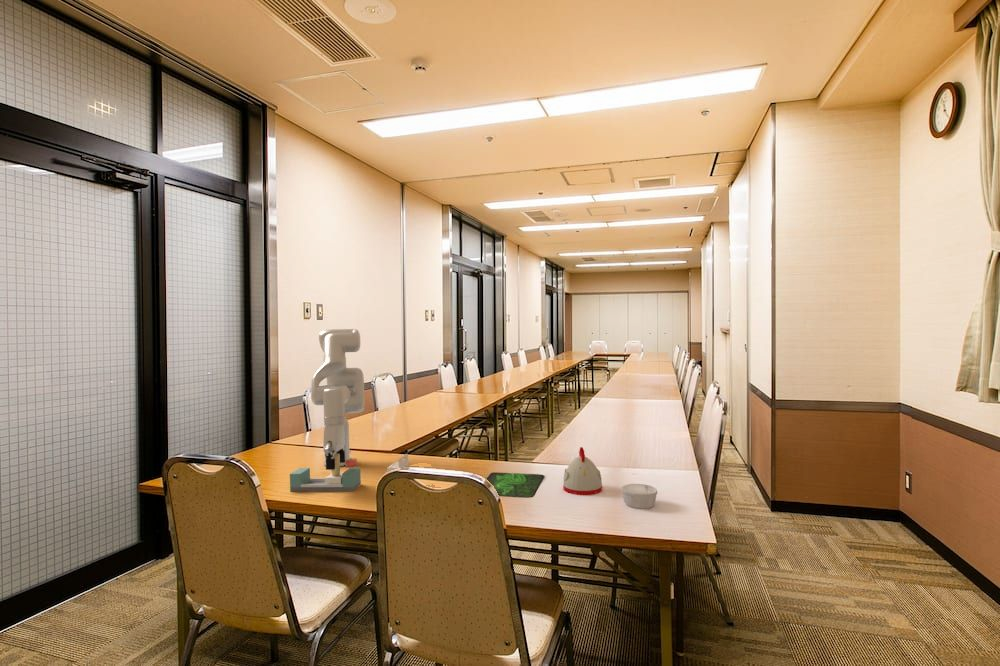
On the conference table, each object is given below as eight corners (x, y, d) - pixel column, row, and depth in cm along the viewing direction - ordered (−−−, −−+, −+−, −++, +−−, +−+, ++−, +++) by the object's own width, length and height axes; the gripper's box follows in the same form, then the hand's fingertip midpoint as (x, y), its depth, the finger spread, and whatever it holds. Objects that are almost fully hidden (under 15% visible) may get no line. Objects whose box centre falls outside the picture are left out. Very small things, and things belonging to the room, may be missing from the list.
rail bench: (300, 484, 197) (299, 467, 197) (360, 484, 195) (360, 467, 195) (290, 491, 189) (289, 473, 189) (353, 491, 187) (352, 473, 187)
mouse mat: (533, 499, 175) (533, 496, 175) (472, 495, 180) (471, 493, 180) (545, 476, 201) (545, 473, 201) (491, 474, 206) (491, 471, 206)
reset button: (348, 464, 193) (347, 459, 193) (358, 464, 193) (358, 459, 193) (344, 467, 189) (344, 461, 189) (354, 467, 189) (354, 461, 189)
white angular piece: (397, 493, 183) (396, 452, 183) (410, 493, 182) (409, 453, 182) (387, 501, 175) (386, 458, 175) (400, 502, 174) (399, 459, 174)
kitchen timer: (565, 495, 176) (564, 452, 176) (561, 483, 190) (560, 443, 190) (605, 495, 176) (604, 451, 176) (598, 483, 190) (597, 443, 190)
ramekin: (665, 507, 163) (664, 490, 163) (636, 513, 159) (636, 496, 159) (642, 497, 173) (641, 481, 173) (615, 502, 169) (614, 486, 169)
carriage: (331, 480, 195) (330, 452, 195) (346, 480, 194) (346, 452, 194) (325, 485, 189) (324, 456, 189) (340, 485, 188) (340, 456, 188)
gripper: (333, 416, 200) (335, 460, 200) (314, 425, 183) (316, 472, 183) (352, 416, 200) (353, 459, 200) (335, 424, 183) (336, 472, 183)
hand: (335, 465), depth 192 cm, fingers open, 9 cm apart
